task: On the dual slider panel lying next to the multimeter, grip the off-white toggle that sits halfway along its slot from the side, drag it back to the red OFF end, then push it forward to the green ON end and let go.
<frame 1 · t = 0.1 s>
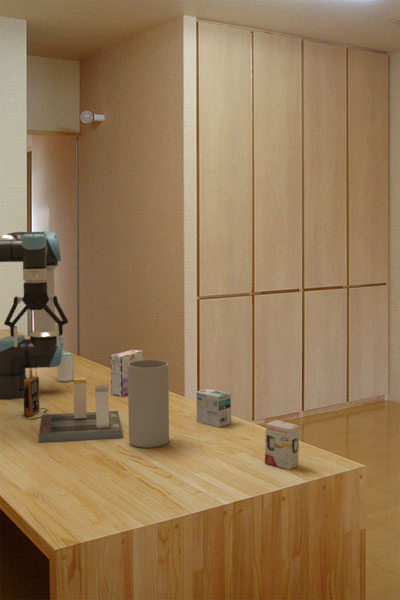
hand: (37, 345, 229), 28 cm above the table, tool pointing down, fingers open, 13 cm apart
light bulb box: (213, 423, 239), on the table
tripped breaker: (80, 397, 236), point 9 cm above the table, slide at 0.0 cm
ink box: (281, 465, 198), on the table
can: (65, 381, 303), on the table
cylinder vase: (149, 442, 218), on the table
multimeter: (41, 414, 250), on the table
dual slider panel: (80, 429, 232), on the table
candy box: (127, 392, 281), on the table
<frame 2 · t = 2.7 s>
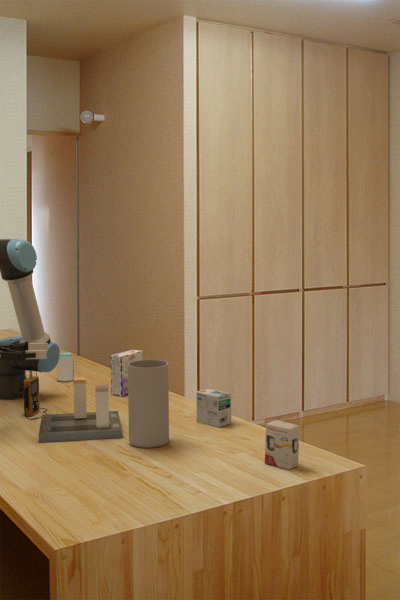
hand: (47, 350, 232), 26 cm above the table, tool horizontal, fingers open, 13 cm apart
nothing on the table moved.
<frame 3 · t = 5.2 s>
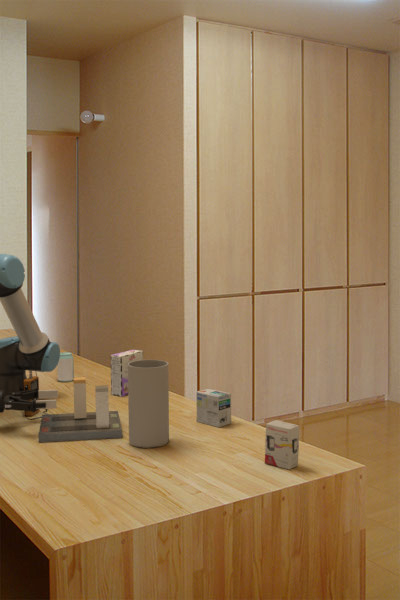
hand: (57, 398, 234), 9 cm above the table, tool horizontal, fingers open, 13 cm apart
nothing on the table moved.
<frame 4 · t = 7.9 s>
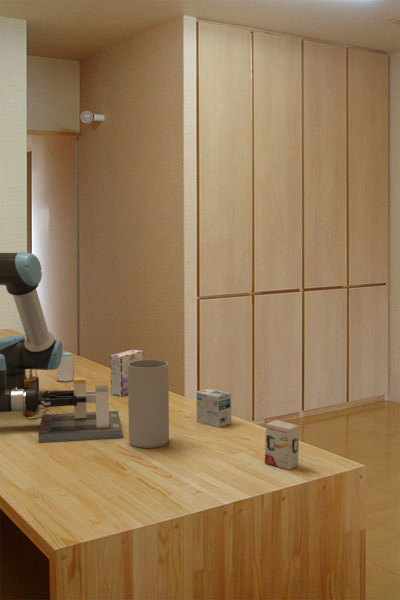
hand: (95, 396, 237), 10 cm above the table, tool horizontal, fingers closed on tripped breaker, 4 cm apart
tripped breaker: (80, 397, 236), point 9 cm above the table, slide at 0.0 cm, touching gripper
everything else where it was.
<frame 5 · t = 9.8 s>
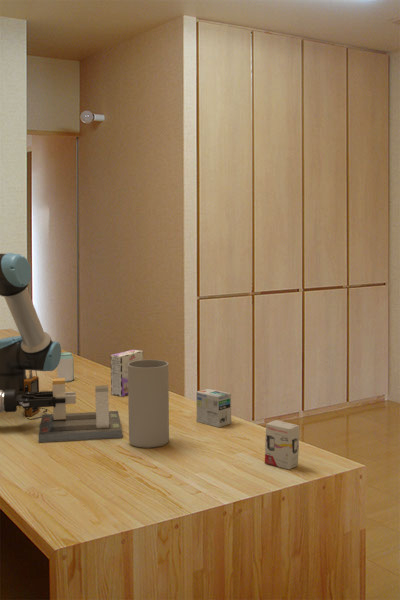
hand: (75, 397, 236), 9 cm above the table, tool horizontal, fingers closed on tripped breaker, 4 cm apart
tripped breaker: (59, 398, 235), point 9 cm above the table, slide at -6.9 cm, touching gripper
everything else where it was.
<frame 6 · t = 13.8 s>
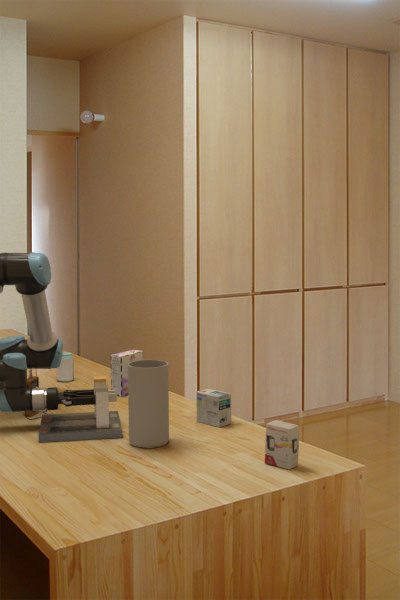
hand: (115, 395, 238), 9 cm above the table, tool horizontal, fingers closed on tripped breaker, 4 cm apart
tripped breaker: (100, 396, 237), point 9 cm above the table, slide at 6.8 cm, touching gripper
everything else where it was.
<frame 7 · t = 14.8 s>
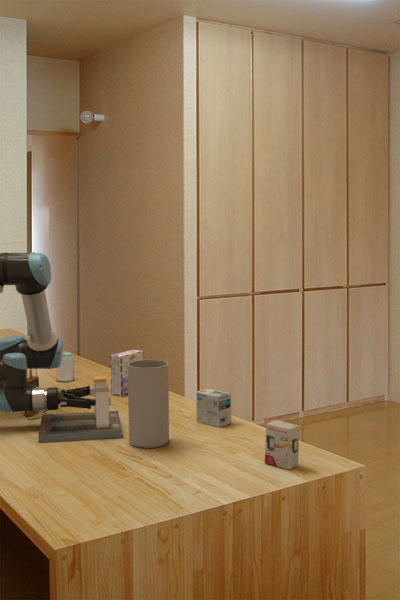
hand: (109, 396, 238), 10 cm above the table, tool horizontal, fingers open, 13 cm apart
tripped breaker: (100, 396, 237), point 9 cm above the table, slide at 6.8 cm
everything else where it was.
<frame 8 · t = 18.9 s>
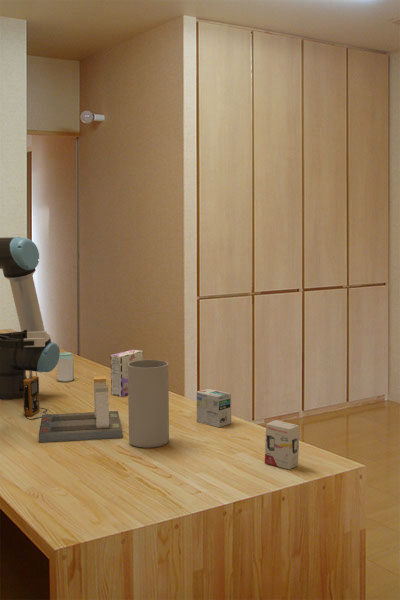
hand: (45, 338, 232), 30 cm above the table, tool horizontal, fingers open, 13 cm apart
nothing on the table moved.
at the end: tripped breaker slide at 6.8 cm; the gripper is holding nothing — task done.
